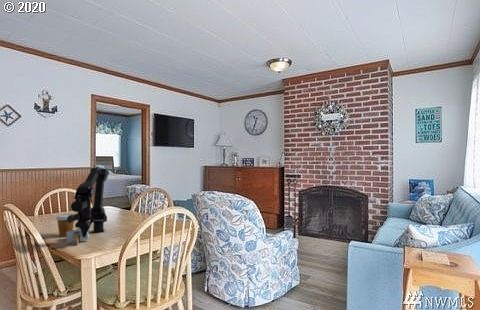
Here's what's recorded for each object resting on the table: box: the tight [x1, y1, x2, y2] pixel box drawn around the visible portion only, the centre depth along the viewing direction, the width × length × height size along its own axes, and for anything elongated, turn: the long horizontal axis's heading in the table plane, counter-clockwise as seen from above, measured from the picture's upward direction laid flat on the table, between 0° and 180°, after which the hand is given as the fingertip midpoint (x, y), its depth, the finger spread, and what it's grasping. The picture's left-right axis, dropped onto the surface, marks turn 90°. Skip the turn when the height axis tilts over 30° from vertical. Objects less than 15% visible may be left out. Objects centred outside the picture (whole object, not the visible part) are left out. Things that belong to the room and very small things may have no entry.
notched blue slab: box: [66, 228, 90, 244], centre depth 158 cm, size 2×10×6 cm, turn 109°
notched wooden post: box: [72, 228, 81, 247], centre depth 158 cm, size 14×2×6 cm, turn 19°
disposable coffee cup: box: [55, 213, 75, 238], centre depth 170 cm, size 10×10×12 cm
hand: (84, 236), depth 159 cm, fingers closed on notched blue slab, 2 cm apart
